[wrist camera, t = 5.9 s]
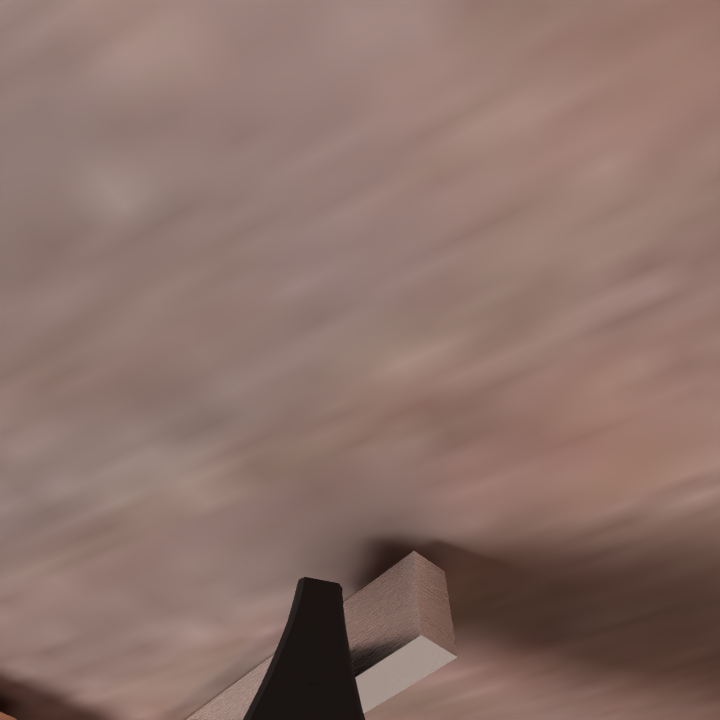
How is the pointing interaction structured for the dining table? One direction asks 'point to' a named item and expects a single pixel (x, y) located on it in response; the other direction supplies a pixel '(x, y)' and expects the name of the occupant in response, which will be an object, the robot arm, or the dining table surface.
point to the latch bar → (376, 638)
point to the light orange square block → (6, 717)
